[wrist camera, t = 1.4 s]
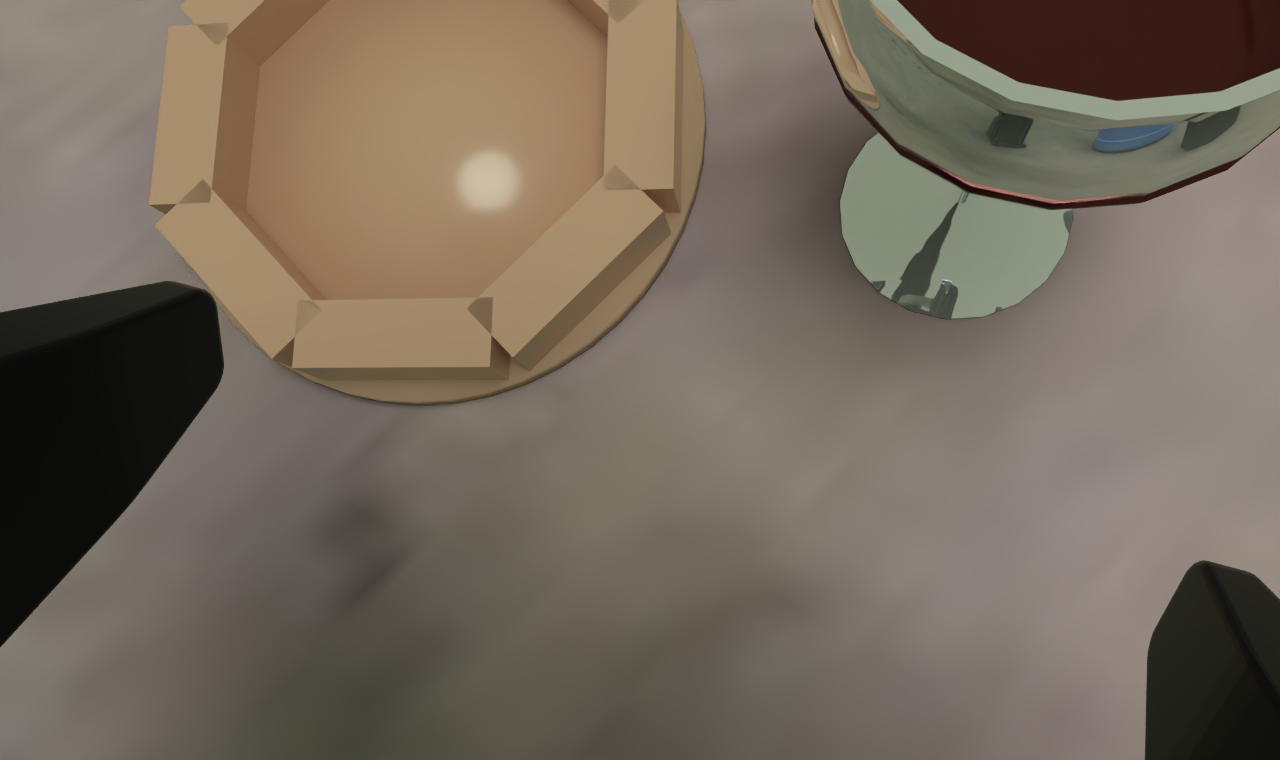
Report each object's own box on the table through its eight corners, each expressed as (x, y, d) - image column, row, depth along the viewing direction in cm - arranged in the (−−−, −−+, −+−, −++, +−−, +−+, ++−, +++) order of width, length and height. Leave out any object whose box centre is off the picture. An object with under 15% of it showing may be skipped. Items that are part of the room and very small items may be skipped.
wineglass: (1003, 13, 23) (1219, -549, 11) (1182, 258, 22) (1641, -102, 10) (743, 164, 23) (697, -235, 12) (902, 417, 22) (1031, 248, 10)
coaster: (823, 124, 23) (826, 84, 21) (414, 523, 23) (379, 518, 21) (457, -197, 26) (431, -259, 24) (91, 152, 26) (34, 119, 24)
